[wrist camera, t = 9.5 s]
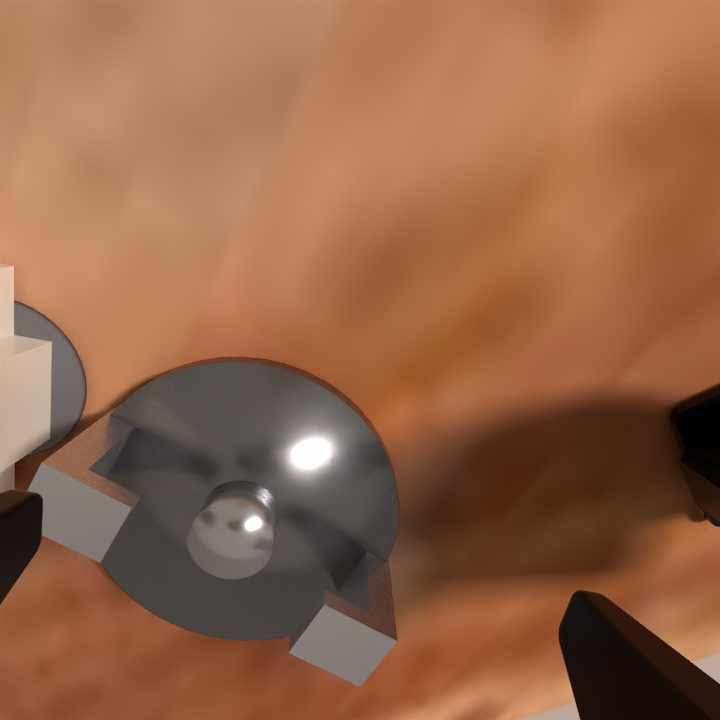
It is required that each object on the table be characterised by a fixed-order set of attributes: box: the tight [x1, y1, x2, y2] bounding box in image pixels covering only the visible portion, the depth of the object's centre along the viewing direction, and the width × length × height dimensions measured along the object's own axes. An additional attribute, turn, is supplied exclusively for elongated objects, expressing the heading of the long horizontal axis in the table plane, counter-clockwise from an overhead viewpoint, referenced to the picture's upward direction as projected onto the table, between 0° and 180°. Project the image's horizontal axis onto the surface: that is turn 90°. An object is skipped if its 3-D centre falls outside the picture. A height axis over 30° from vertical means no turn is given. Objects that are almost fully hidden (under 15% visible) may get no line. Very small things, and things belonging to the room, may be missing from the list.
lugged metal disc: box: [27, 357, 399, 687], centre depth 19 cm, size 14×14×5 cm
